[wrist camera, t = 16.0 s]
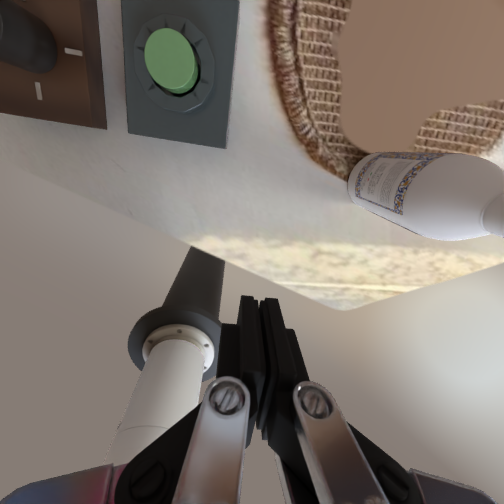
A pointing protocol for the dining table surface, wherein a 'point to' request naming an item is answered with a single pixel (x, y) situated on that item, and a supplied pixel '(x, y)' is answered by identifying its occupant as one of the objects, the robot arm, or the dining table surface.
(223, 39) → the grey button housing
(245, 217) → the dining table surface
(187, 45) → the green round button
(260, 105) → the dining table surface
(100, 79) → the lock base
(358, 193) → the bath foam
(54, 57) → the dial
